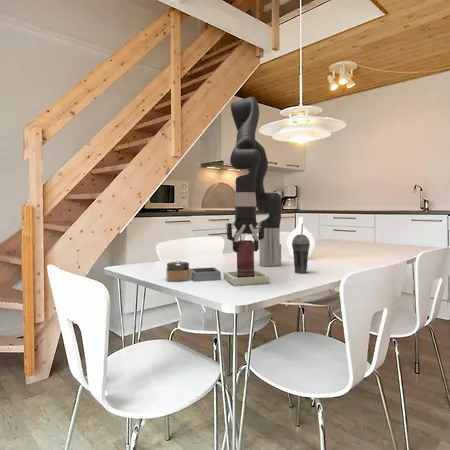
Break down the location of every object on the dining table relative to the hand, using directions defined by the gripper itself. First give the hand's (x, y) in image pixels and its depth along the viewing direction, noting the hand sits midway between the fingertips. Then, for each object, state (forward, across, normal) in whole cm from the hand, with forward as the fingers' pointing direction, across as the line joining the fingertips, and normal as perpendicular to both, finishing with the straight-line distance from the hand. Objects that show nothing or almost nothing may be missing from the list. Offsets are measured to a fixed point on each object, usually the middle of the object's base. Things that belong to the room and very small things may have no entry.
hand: (245, 251), depth 129 cm
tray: (+11, 0, 0) cm, 11 cm away
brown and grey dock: (+11, +17, -10) cm, 23 cm away
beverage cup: (+11, -27, -10) cm, 31 cm away
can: (+10, 0, 0) cm, 10 cm away
